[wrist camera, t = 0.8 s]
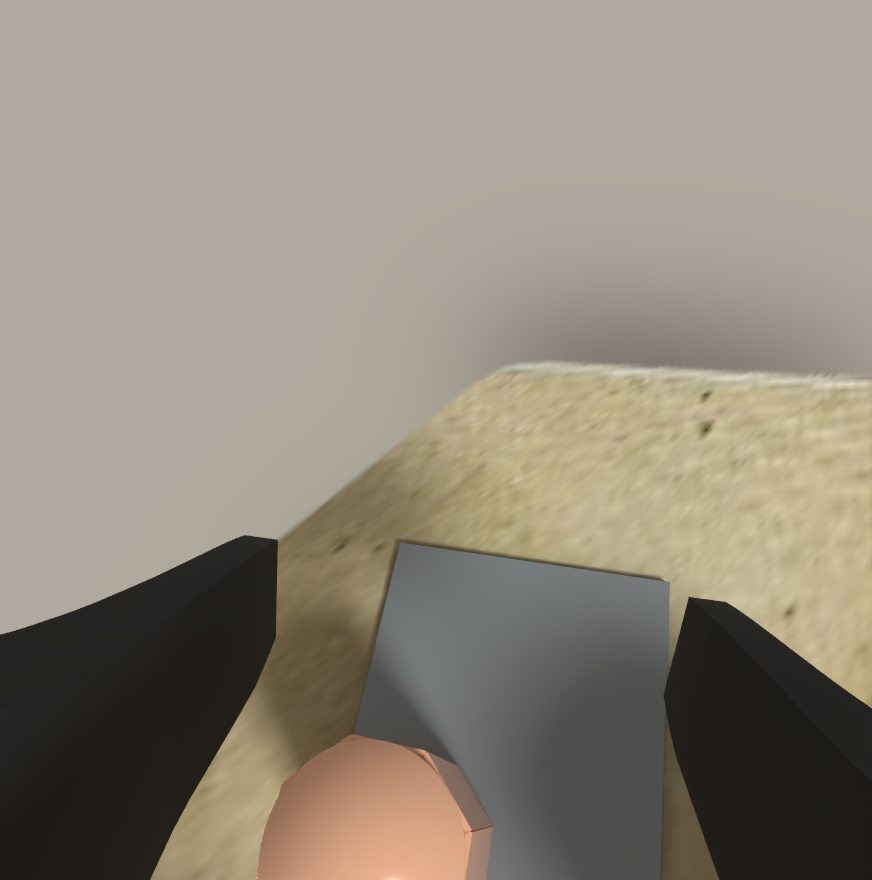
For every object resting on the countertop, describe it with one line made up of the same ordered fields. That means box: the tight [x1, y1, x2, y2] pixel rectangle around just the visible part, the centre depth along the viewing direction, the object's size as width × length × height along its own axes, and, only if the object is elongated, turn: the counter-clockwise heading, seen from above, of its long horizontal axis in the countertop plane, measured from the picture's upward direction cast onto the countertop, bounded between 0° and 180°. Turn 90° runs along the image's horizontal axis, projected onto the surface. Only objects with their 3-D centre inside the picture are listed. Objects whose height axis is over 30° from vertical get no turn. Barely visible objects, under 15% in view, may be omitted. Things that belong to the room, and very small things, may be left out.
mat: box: [353, 542, 670, 880], centre depth 22 cm, size 15×11×1 cm
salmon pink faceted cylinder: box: [256, 734, 493, 880], centre depth 18 cm, size 5×5×7 cm
